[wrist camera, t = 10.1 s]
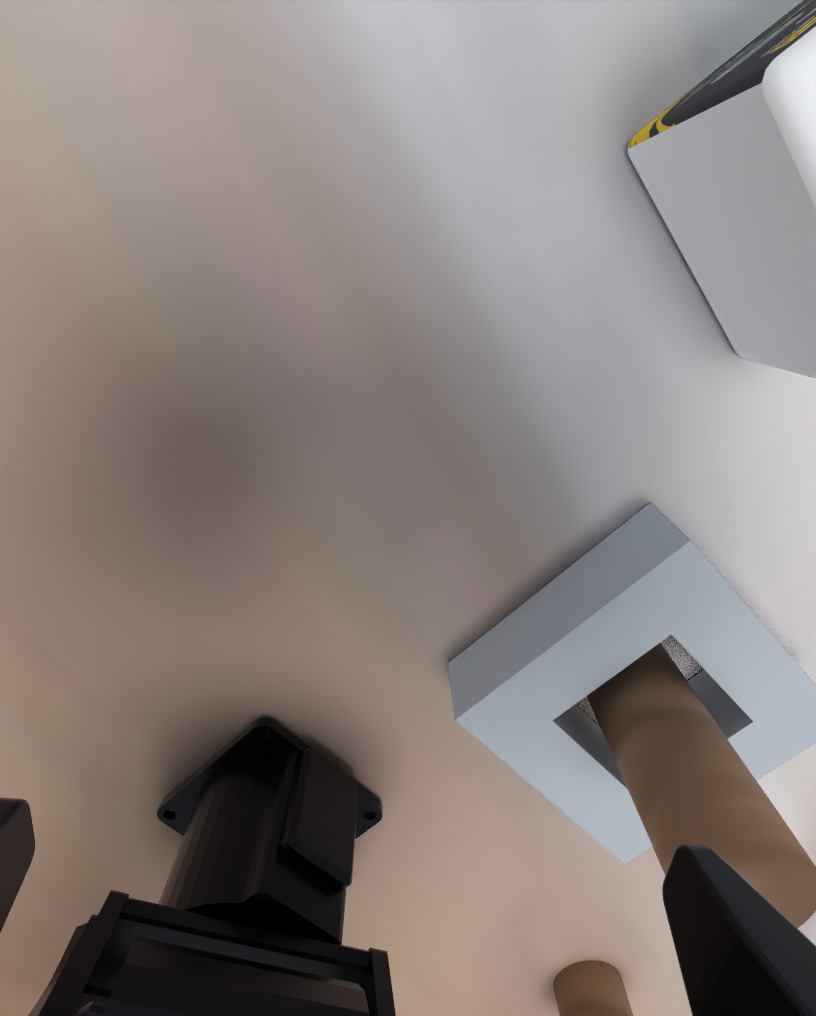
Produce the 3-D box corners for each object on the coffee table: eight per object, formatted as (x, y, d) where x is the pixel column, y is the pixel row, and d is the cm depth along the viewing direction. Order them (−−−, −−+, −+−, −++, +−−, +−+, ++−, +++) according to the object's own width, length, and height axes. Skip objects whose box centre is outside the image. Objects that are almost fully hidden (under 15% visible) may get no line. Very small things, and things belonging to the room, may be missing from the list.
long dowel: (612, 714, 23) (732, 965, 15) (559, 664, 23) (655, 900, 14) (682, 665, 23) (849, 900, 14) (630, 611, 22) (776, 827, 13)
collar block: (598, 796, 25) (623, 863, 22) (447, 663, 22) (455, 720, 20) (793, 665, 23) (849, 722, 20) (650, 502, 20) (690, 540, 17)
